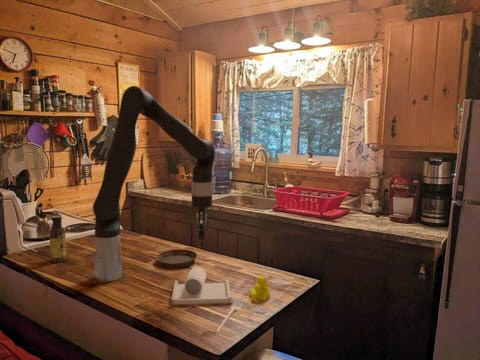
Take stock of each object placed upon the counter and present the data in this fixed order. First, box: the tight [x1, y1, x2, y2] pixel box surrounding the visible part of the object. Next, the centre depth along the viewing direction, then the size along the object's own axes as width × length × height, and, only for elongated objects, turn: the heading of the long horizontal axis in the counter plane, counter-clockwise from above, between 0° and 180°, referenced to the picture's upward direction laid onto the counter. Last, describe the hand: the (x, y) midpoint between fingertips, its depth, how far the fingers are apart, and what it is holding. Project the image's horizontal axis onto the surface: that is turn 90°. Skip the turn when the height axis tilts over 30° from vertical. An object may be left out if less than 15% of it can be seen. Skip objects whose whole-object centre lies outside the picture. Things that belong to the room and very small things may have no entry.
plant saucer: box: [156, 248, 198, 268], centre depth 170 cm, size 18×18×3 cm
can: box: [184, 266, 207, 294], centre depth 140 cm, size 6×6×12 cm
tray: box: [170, 279, 232, 306], centre depth 137 cm, size 16×20×2 cm
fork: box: [216, 297, 244, 332], centre depth 121 cm, size 3×20×2 cm, turn 160°
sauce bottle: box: [49, 215, 67, 263], centre depth 169 cm, size 6×6×20 cm
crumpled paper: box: [249, 274, 271, 302], centre depth 135 cm, size 6×8×8 cm
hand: (201, 239), depth 144 cm, fingers closed
